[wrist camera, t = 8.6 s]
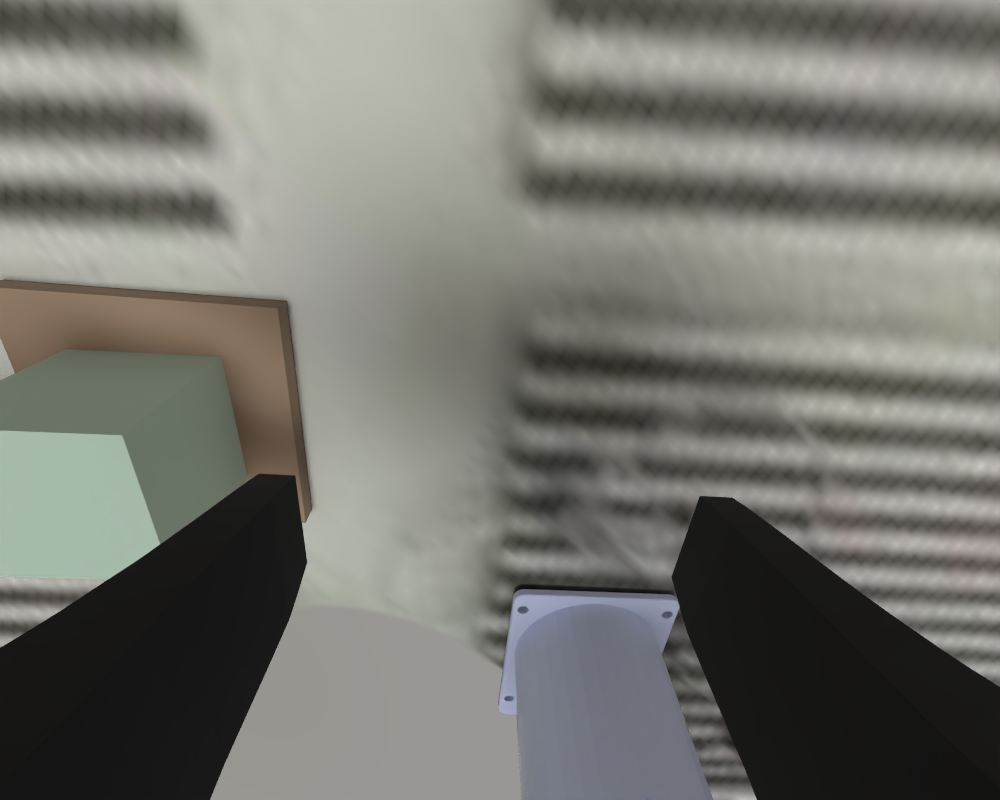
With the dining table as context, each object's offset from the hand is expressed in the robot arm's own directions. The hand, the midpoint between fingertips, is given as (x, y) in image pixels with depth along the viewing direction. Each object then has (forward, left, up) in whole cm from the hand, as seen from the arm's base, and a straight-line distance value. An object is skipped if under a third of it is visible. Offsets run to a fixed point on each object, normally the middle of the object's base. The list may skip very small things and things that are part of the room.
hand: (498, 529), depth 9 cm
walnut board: (-4, +12, -9) cm, 15 cm away
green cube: (-3, +12, -9) cm, 15 cm away
